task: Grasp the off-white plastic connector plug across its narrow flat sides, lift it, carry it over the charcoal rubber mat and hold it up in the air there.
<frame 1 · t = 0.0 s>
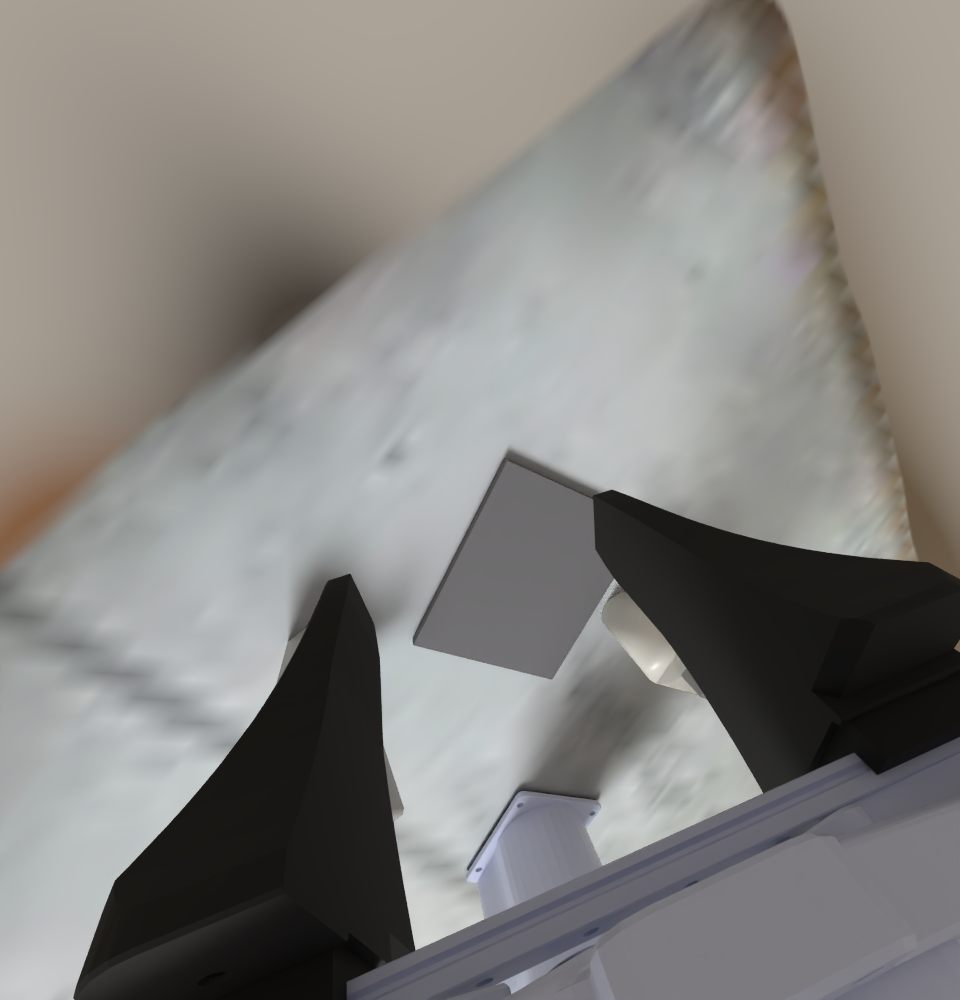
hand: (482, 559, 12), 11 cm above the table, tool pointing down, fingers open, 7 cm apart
mat: (529, 579, 26), on the table
lighter: (344, 666, 25), on the table
connector: (649, 620, 29), on the table
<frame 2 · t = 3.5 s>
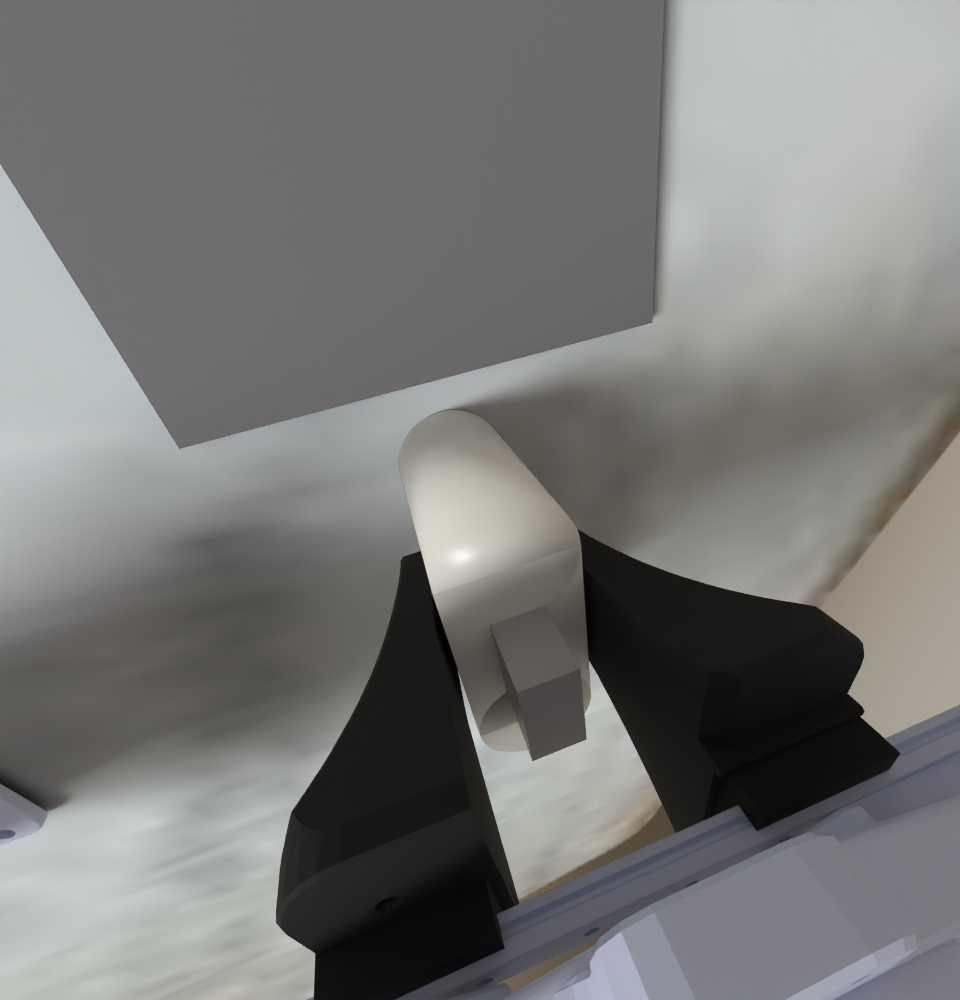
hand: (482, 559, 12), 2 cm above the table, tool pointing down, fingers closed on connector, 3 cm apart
mat: (367, 120, 8), on the table
connector: (468, 529, 14), on the table, touching gripper
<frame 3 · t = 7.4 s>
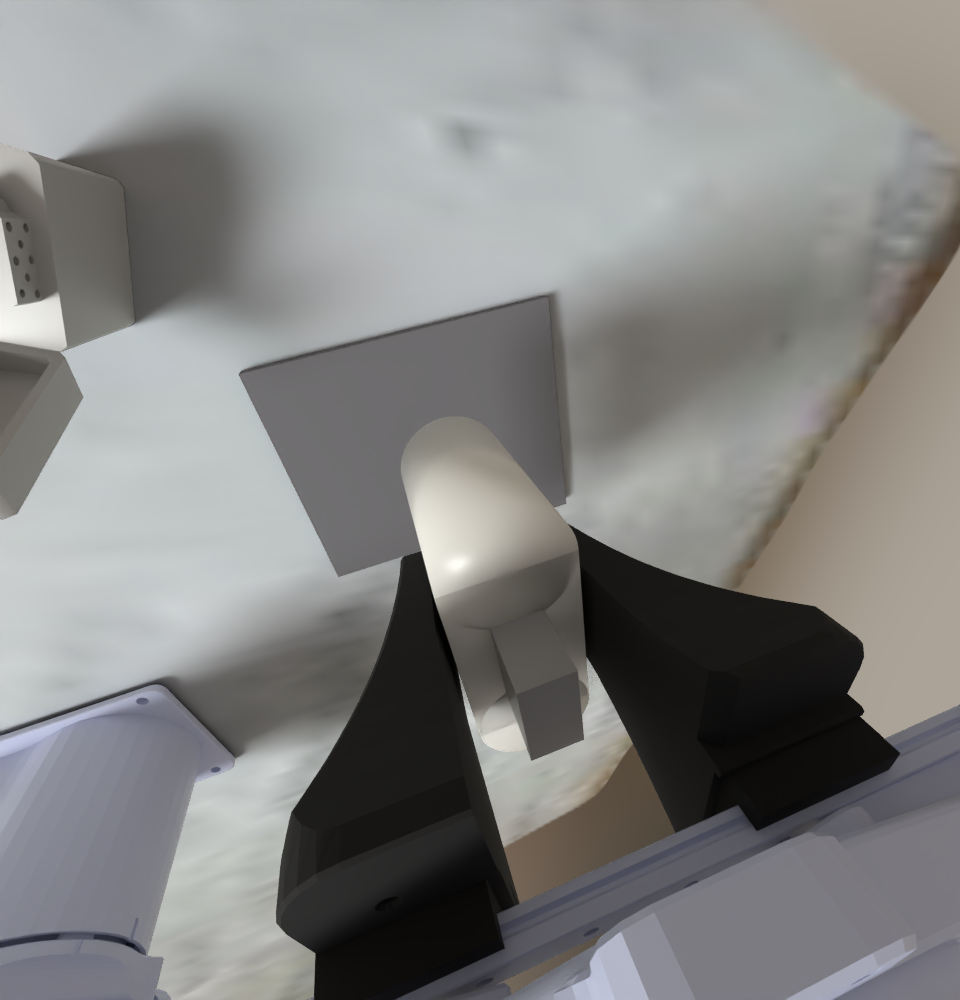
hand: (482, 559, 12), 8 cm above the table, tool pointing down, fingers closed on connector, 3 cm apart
mat: (430, 446, 19), on the table
lighter: (103, 301, 14), on the table
connector: (468, 532, 14), point 7 cm above the table, touching gripper
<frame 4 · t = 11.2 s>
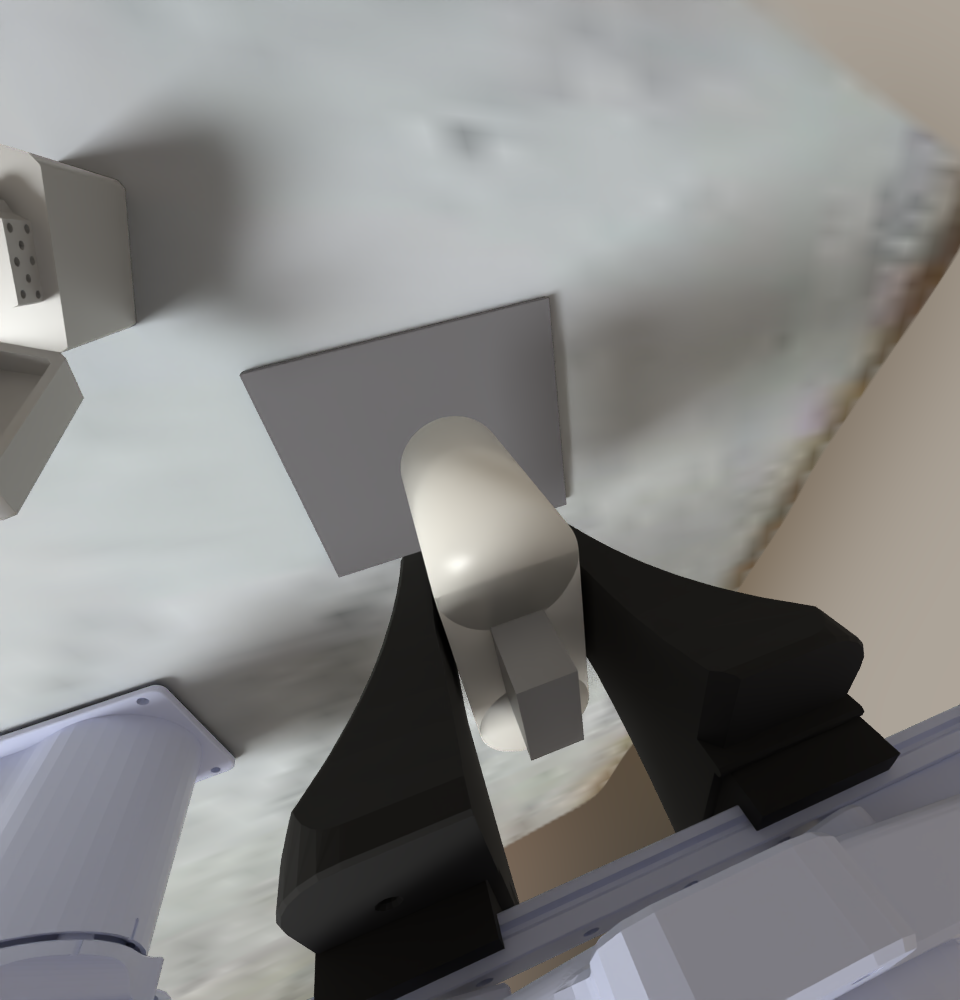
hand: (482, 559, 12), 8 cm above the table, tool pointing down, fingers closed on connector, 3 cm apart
mat: (431, 447, 19), on the table
lighter: (105, 302, 14), on the table
connector: (468, 532, 14), point 7 cm above the table, touching gripper
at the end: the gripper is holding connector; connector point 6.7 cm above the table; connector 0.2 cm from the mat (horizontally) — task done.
